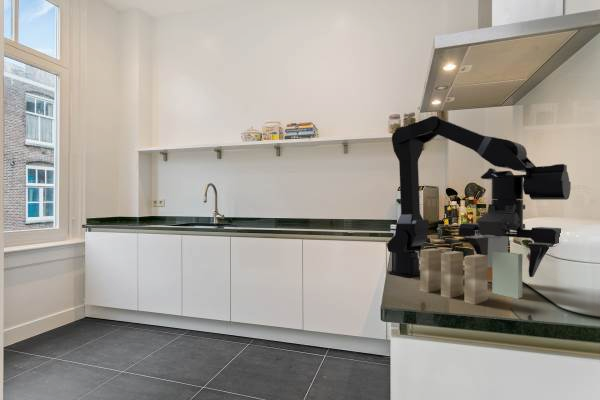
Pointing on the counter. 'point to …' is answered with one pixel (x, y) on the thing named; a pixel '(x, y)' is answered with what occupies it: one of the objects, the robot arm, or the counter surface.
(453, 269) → the maple tile
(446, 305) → the counter surface
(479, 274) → the maple tile
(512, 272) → the sage tile
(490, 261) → the skincare box
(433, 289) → the maple tile
